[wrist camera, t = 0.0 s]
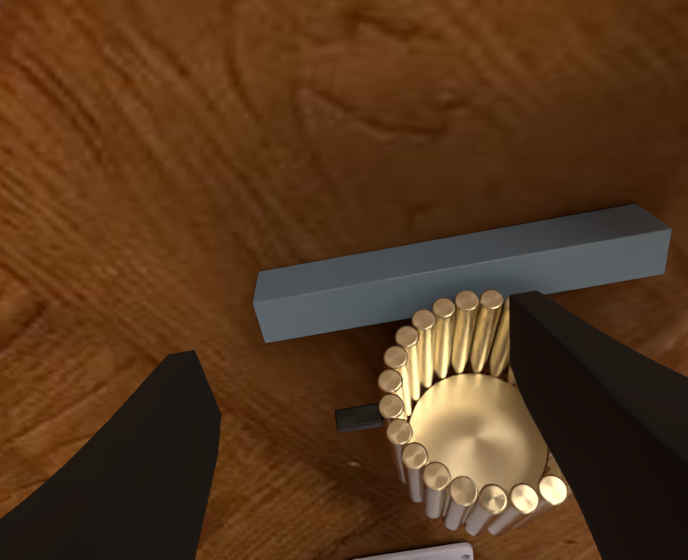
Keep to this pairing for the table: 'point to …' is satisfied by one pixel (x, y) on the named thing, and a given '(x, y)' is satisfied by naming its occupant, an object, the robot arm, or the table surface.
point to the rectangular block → (460, 271)
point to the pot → (462, 419)
